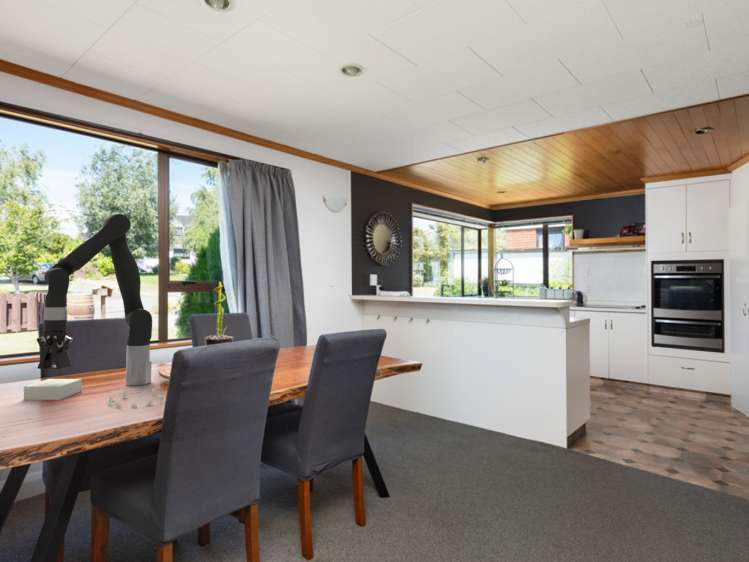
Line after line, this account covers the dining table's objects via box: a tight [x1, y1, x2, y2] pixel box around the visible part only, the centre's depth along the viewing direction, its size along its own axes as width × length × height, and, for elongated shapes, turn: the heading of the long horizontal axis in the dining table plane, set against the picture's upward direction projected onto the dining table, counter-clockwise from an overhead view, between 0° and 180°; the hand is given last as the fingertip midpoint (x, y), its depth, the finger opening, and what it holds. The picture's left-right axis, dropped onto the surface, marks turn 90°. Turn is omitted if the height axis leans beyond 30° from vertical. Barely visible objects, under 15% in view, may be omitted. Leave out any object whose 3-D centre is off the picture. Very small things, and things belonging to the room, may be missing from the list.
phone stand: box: [37, 337, 72, 370], centre depth 179 cm, size 9×6×12 cm, turn 92°
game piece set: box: [106, 388, 164, 409], centre depth 172 cm, size 19×20×4 cm
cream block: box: [23, 378, 83, 401], centre depth 179 cm, size 13×14×5 cm
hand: (54, 362), depth 179 cm, fingers closed on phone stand, 1 cm apart
